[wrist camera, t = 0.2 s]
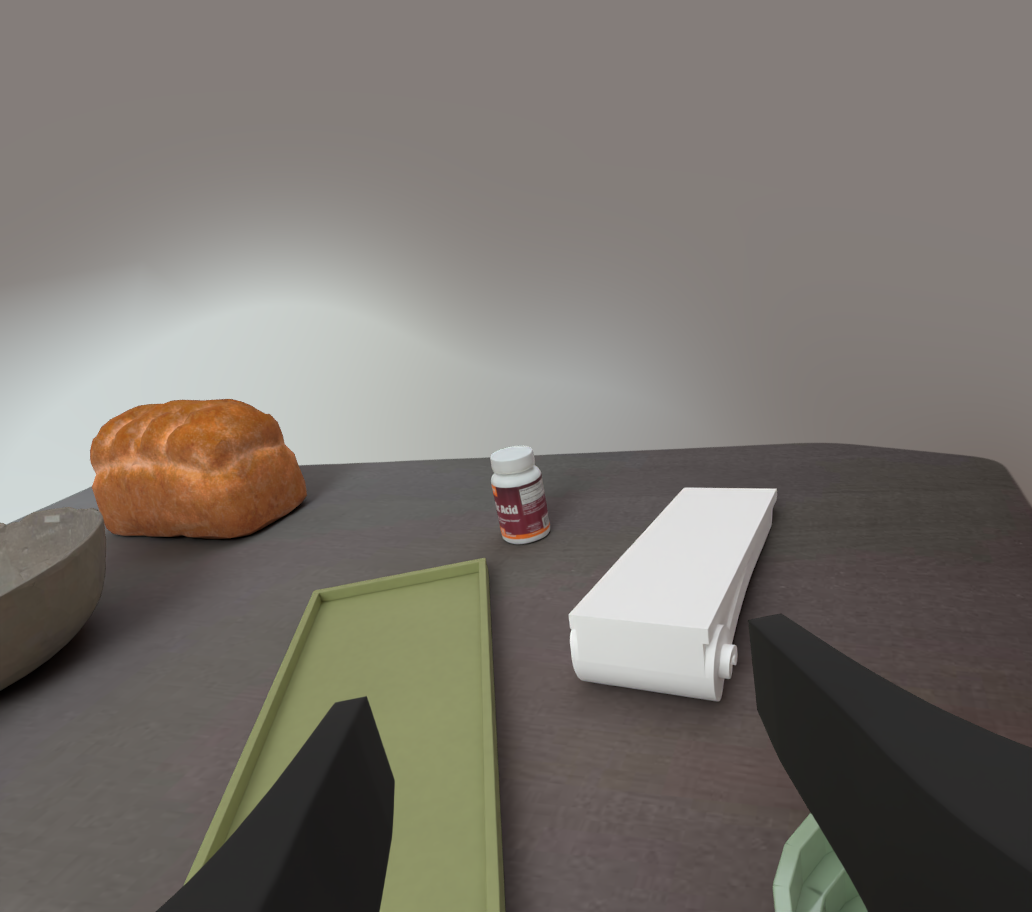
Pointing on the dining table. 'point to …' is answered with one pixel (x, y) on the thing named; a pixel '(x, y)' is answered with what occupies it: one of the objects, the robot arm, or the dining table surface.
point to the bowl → (47, 584)
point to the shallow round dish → (813, 875)
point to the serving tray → (397, 727)
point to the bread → (194, 470)
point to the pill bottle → (519, 495)
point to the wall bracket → (675, 597)
